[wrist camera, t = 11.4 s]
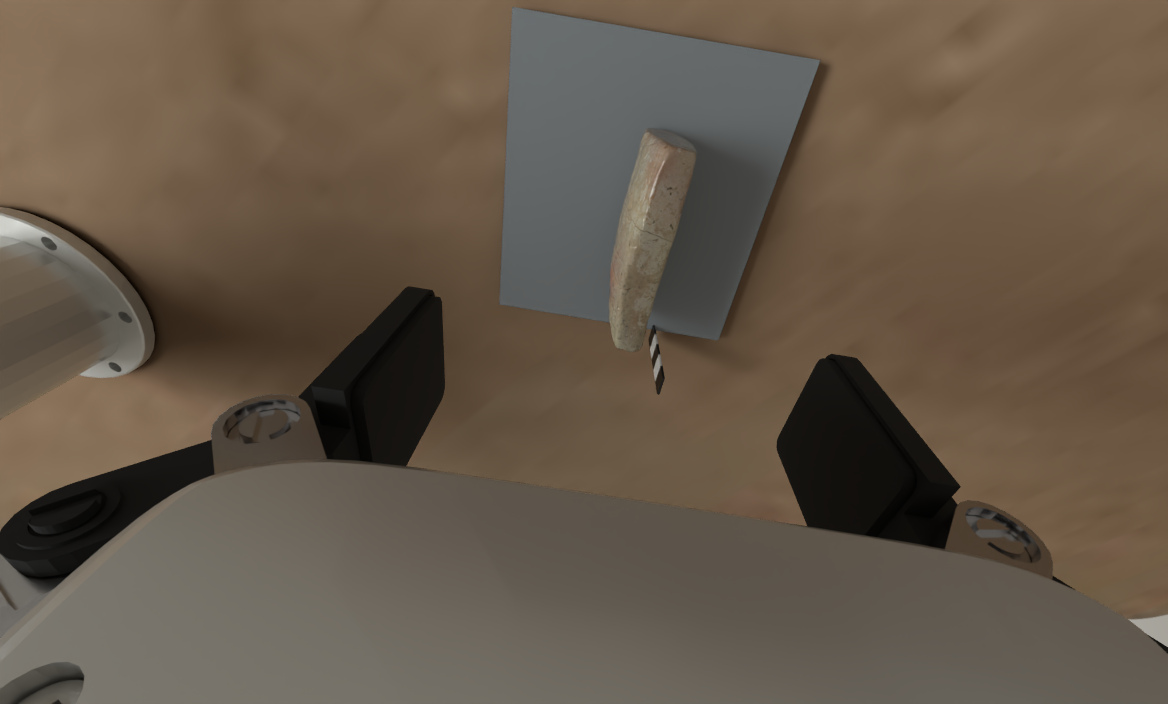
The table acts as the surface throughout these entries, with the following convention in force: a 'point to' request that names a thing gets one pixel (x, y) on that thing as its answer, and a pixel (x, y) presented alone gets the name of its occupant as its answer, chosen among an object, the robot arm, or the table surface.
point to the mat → (608, 155)
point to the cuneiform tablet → (647, 237)
